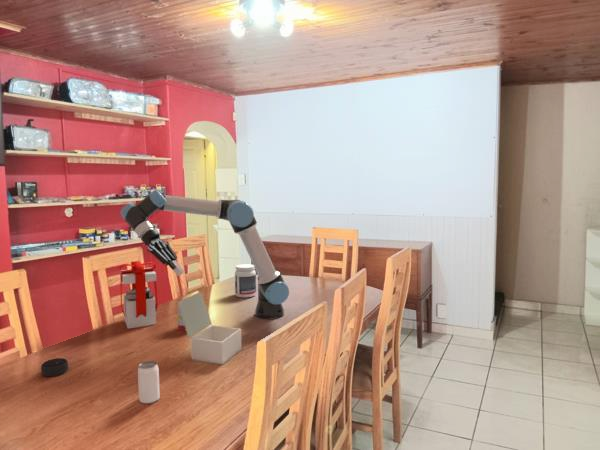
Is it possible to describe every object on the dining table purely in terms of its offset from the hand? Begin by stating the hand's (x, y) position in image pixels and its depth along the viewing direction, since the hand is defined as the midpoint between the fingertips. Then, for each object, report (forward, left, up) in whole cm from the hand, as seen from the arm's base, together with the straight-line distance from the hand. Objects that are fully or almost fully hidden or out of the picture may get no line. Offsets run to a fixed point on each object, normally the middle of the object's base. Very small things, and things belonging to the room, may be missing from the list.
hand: (181, 273), depth 193 cm
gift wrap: (+23, -32, -31) cm, 51 cm away
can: (+7, +49, -31) cm, 59 cm away
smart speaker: (+45, +21, -31) cm, 59 cm away
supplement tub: (-32, -72, -31) cm, 85 cm away
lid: (-6, +11, -15) cm, 20 cm away
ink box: (-2, -19, -31) cm, 37 cm away
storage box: (-15, +16, -31) cm, 38 cm away
